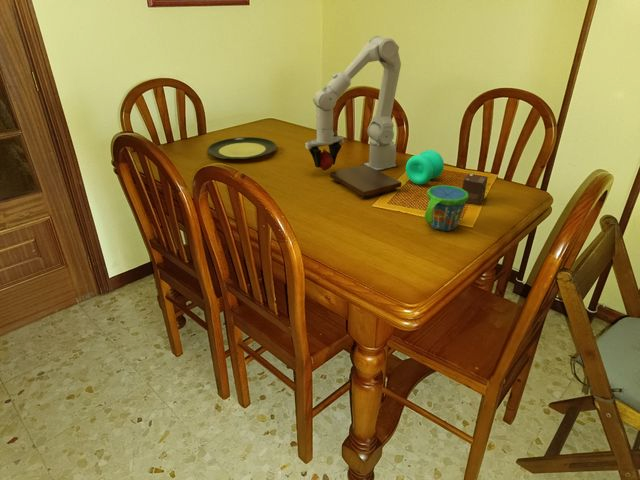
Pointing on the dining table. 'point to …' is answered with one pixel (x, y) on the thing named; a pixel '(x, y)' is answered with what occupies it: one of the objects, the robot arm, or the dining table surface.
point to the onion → (325, 160)
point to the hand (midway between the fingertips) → (325, 165)
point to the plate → (241, 148)
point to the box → (475, 188)
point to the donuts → (424, 167)
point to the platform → (365, 180)
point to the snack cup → (445, 206)
